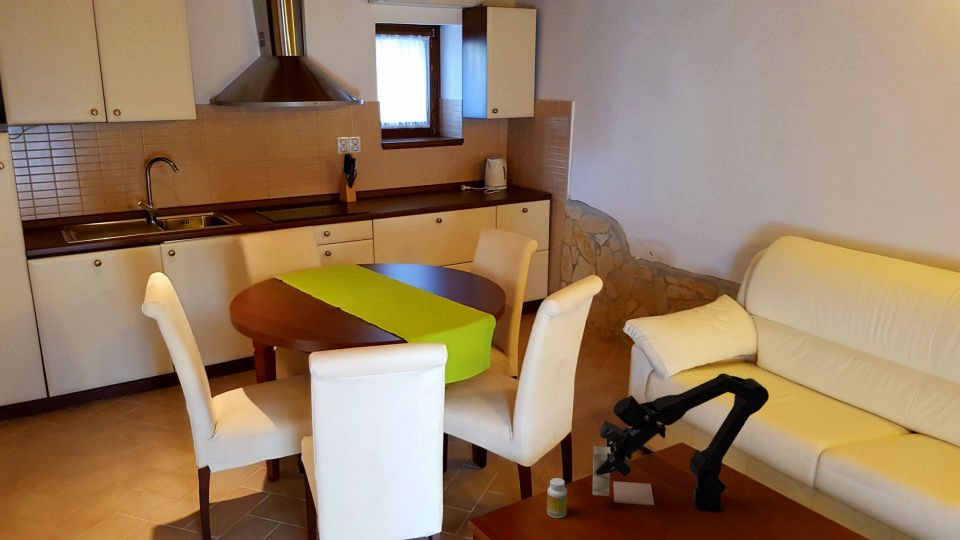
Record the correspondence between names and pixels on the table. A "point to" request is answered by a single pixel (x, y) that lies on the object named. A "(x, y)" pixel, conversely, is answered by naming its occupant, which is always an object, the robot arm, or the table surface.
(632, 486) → the plate
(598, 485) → the birch pillar
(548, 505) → the supplement bottle
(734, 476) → the table surface
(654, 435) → the robot arm
